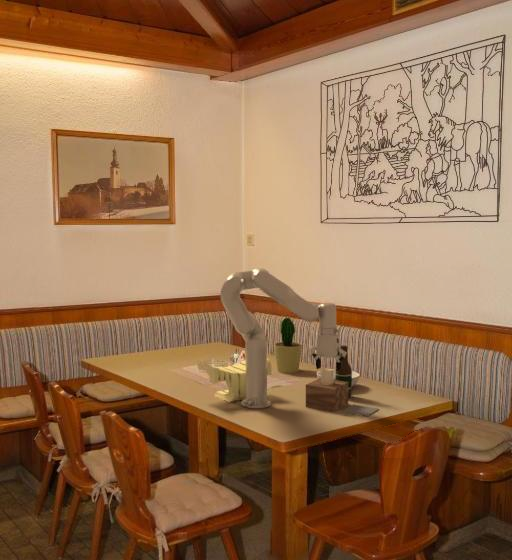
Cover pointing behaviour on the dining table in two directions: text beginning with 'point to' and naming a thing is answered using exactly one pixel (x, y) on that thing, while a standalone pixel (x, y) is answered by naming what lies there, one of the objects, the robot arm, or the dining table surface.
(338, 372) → the beer bottle
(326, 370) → the square peg
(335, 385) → the wooden square ring
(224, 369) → the slatted curved stool
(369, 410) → the rubber mat
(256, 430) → the dining table surface
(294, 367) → the potted cactus
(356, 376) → the serving bowl
